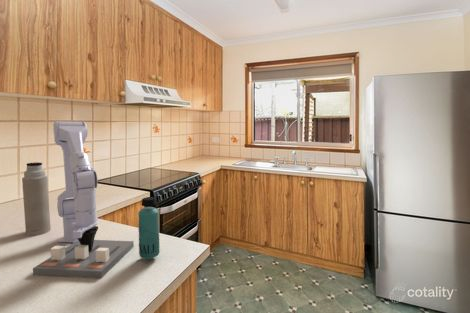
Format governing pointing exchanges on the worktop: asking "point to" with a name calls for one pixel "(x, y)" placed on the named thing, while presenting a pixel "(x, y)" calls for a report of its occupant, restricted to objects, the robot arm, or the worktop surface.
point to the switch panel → (92, 266)
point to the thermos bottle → (36, 200)
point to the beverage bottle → (148, 229)
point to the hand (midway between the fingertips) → (87, 251)
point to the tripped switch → (81, 252)
